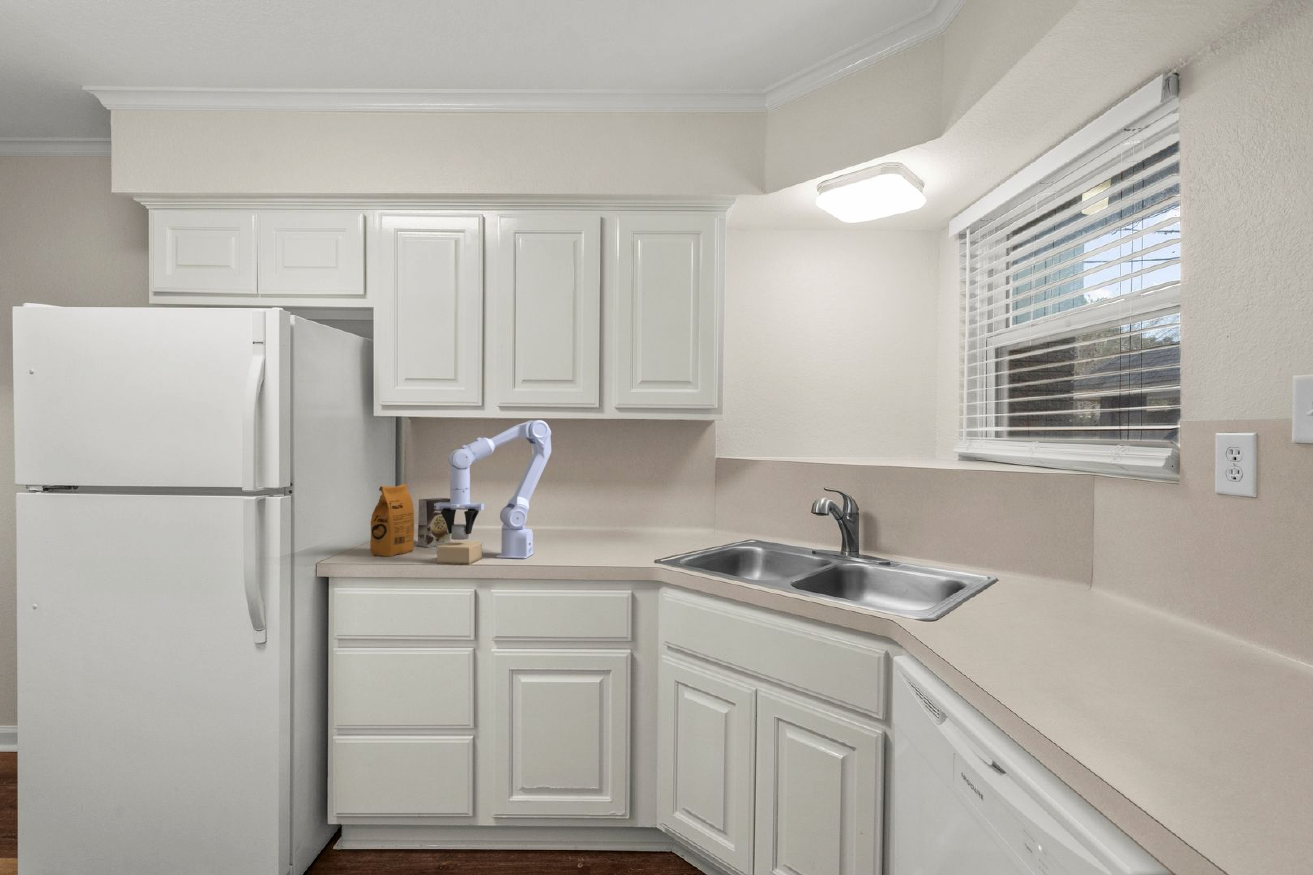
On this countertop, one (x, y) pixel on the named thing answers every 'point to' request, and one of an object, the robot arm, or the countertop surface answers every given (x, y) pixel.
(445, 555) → the box
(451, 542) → the lid
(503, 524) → the robot arm
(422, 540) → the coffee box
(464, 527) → the grey rounded cylinder
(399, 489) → the coffee package
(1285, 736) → the countertop surface
